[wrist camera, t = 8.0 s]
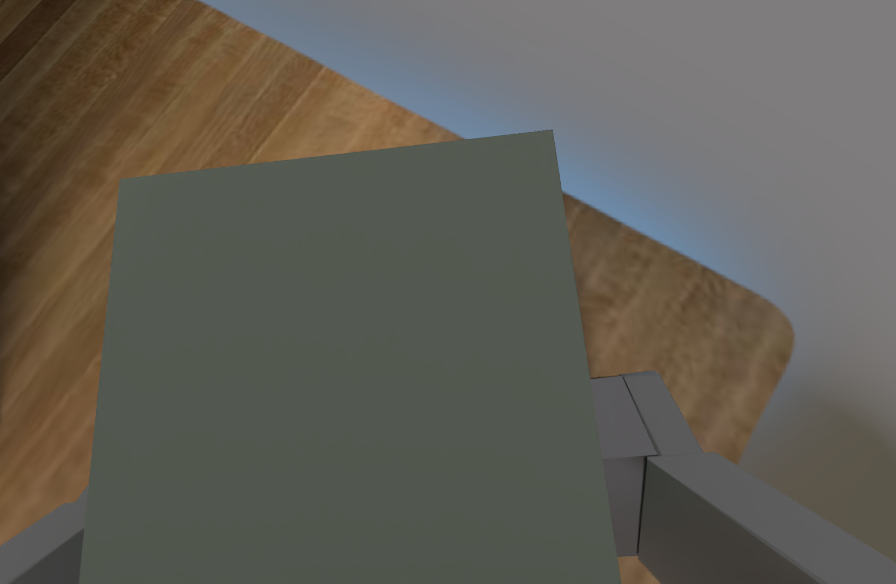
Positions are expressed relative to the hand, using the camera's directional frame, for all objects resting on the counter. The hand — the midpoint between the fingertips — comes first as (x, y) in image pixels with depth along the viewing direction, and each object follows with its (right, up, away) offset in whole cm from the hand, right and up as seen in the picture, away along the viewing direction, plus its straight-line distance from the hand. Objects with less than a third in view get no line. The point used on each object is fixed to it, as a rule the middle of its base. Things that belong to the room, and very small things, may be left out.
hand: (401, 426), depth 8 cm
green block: (0, -1, +6) cm, 6 cm away
